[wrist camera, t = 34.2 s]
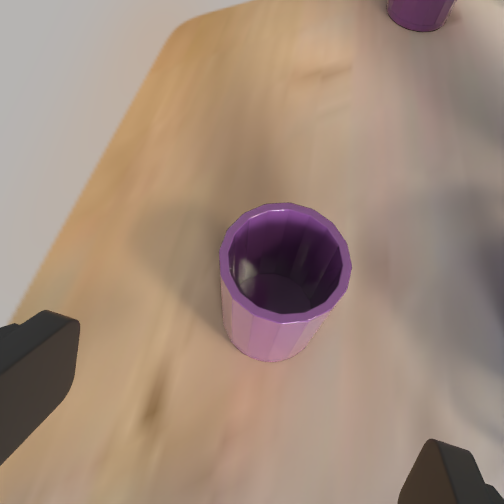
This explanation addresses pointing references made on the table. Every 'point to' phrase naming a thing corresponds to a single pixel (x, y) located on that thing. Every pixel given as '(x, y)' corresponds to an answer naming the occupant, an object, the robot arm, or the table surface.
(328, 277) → the plum cup
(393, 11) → the plum cup
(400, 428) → the table surface
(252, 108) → the table surface
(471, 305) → the table surface
